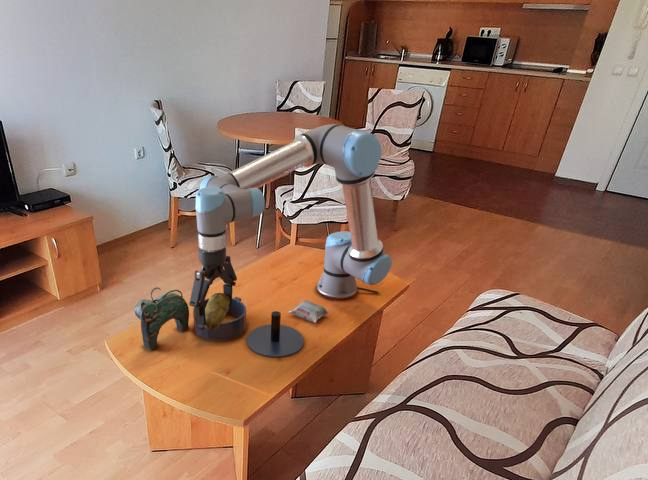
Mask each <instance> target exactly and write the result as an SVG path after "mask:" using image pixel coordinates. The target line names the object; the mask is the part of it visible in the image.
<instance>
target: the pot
mask: <svg viewBox="0 0 648 480" xmlns="http://www.w3.org/2000/svg"><path fill="white" fill-rule="evenodd" d="M209 299H210V297H209V298H205V300H204V303H203V305H205V308H206V306H207V303H208V301H209ZM192 310H193V312H192V314H193V327H194V331H195V333H196V335H199V336H200V337H202V338H204V339H207V340H213V341H225V340H226V341H227V340H231V339H234V338H237V337H239V336H240V335H243V333H244V332H245V330H246V328H247V306H246V305H245V304H244V302H242V297H239V296H235V297H232V306H229V309H228V311H227V313H226V315H227V314H228V315H232V316H235V317H237V318H236V319H233V320H230V321H225V322H221V323H220V326H219V327H218V328H217V329H216V330H213V331H210V330H207V329H206V328H205V326H203V325H200V324H197V317H196V314H195V313H196V312H195V307H193V309H192Z"/></svg>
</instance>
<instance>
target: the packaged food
mask: <svg viewBox="0 0 648 480" xmlns="http://www.w3.org/2000/svg"><path fill="white" fill-rule="evenodd" d="M288 313H289V314H293V316H295V317H298V318H301V319H304V320H306V321H309V322H312V323H317V322H318V321H319V320H320V319H321V318H323V317H325V316H327V315H329V314H330V312H329V311H328V310H327V309H326V308H325V307H324V306H322V305H320V304H316V303H313V302H311V301H309V300H304V301H302V302H300V303H299V304H298V305H297V306H296V307H295V308H294V309H291V310H289V311H288Z"/></svg>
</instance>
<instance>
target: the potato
mask: <svg viewBox="0 0 648 480" xmlns="http://www.w3.org/2000/svg"><path fill="white" fill-rule="evenodd" d="M209 298H210V299H209V301H208V303H207V306H206V308H205V317H206V325H205V328H206V329H207V330H210V331H213V330H216V329H217V328H218V327H219V326H220V323H223V321H224V319H225V318H226V315H227V314H226V313H227V311H228V309H229V304H230V298H229V296H228V295H226V294H224V293H223V292H215V293H213V294H211V295H210V297H209Z"/></svg>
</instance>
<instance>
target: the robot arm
mask: <svg viewBox="0 0 648 480" xmlns="http://www.w3.org/2000/svg"><path fill="white" fill-rule="evenodd" d="M382 152H383V151H382V145H381V143H380V140H379V139H378V137H377V136H376V135H374V134H373V133H371V132H369V131H367V130H364V129H360V128H359V129H357V128H353V127H349V126H346V125H342V124H339V123H329V124H324V125H321V126H318V127H313V128H312V129H310V130H307V131H305V132H303V133H301V134H299V135H296V137H294V139H293V141H292V142H290V143H288V144H286V145H283V146H282V147H280V148H278V149H276V150H273V151H270V152H269V153H267V154H265V155H263V156H261V157H259V158H256V159H254V160H253V161H250V162H249V163H246V164H244V165H242V166H240V167H238V168H236V169H234V170H231V171H229V172H228V173H225V174H223V175H221V176H218V175H208V176H206V177H204V178H203V179H202V181H201V183H200V186H199V189H198V190H197V191H196V193H195V208H194V209H195V213H196V228H197V243H198V260H199V263H200V264H201V265H202V267H201V270H195V271H194V280H193V284H192V285H193V286H192V289H191V294H190V298H189V303H188V306H191V307H193V308H194V307H195V312H196V313H195V314H196V317H197V324H200V325H203V326H205V325H206V317H205V305H203V303H204V300H205V299H207V298H206V297H207V294H208V292H209V290H210V286H211V285H212V284H213V283H214V281H215V280H216V279H218V278H220V279H221V280H222V281H223V283H224V284H223V285H222V286H223V287H222V289H223V292H222V293H224V294H226V295H228V296H229V298H230V304H229V306H232V298H233V287H235V286H236V285H237V284H236V283H237V282H236V281H238V277H237V274H236V272H235V269H234V267H233V264H232V260H231V256H229V255H227V248H226V247H227V237H226V236H227V234H226V233H227V232H226V224H231V223H235V222H239V221H243V220H247V219H253V218H255V217H258V216H260V215H262V214H263V213H264V211H265V205H266V204H265V203H266V200H265V196H264V194H263V191H262V190H260V188H262V187H264V186H265V185H268V184H270V183H271V182H273V181H275V180H278V179H279V178H282V177H283V176H285V175H289V174H290V173H292V172H293V171H296V170H298V169H300V168H302V167H303V168H309V167H312V166H315V165H326V166H329V167H331V168H333V169H334V173H335V180H336V182H337V183H338V184H339V185H341V186H342V191H343V197H344V203H345V209H346V216H347V222H348V223H347V224H348V229H349V231H344V230H343V231H336V232H332V233H330V234H329V235H328V236H327V237H326V241H325V247H324V259H323V260H324V261H323V271H322V274H321V276H320V278H319V280H318V282H317V285H316V290H317V293H318V295H320V296H322V297H324V298H326V299H329V300H335V301H344V300H348V299H352V298H353V297H355V296H356V295H357V293H358V290H360V291H365V292H370V293H373V294H379V291H378V290H373V289H368V288H365V287H359V286H357V280H359V281H360V282H362V283H364V284H367V285H369V286H375V285H378V284H379V283H381V282H382V281H383V280H385V278H386V277H387V276H388V274H389V273H390V272H391V269H392V264H393V260H392V259H393V258H392V257H391V256H390V255H389V254H388V253H385V252H384V244H383V242H382V240H381V239H379V238H378V230H377V222H376V214H375V213H376V212H375V205H374V195H373V187H372V178H373V177H374V176H375V173H376V171H377V169H378V167H379V165H380V163H379V162H380V161H381V159H382V154H383V153H382ZM356 279H357V280H356Z"/></svg>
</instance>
